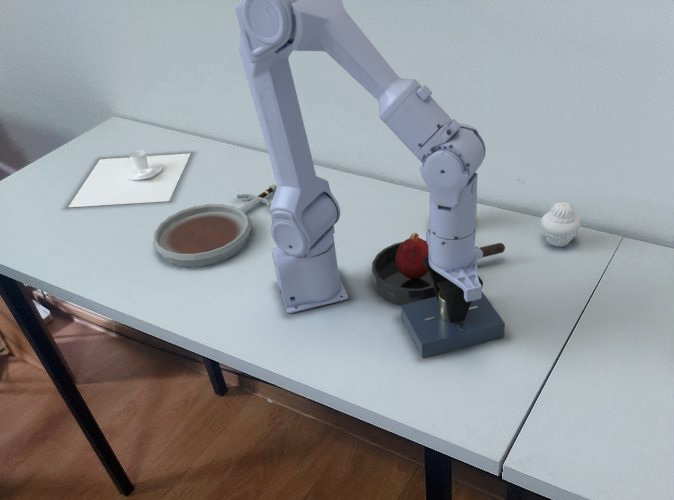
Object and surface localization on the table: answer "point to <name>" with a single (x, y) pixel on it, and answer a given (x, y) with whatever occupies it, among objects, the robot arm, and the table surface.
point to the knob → (442, 307)
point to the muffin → (560, 224)
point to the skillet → (398, 280)
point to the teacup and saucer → (131, 180)
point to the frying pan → (206, 232)
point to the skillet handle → (492, 249)
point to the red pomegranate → (412, 257)
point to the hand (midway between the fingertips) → (451, 311)
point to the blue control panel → (450, 326)
